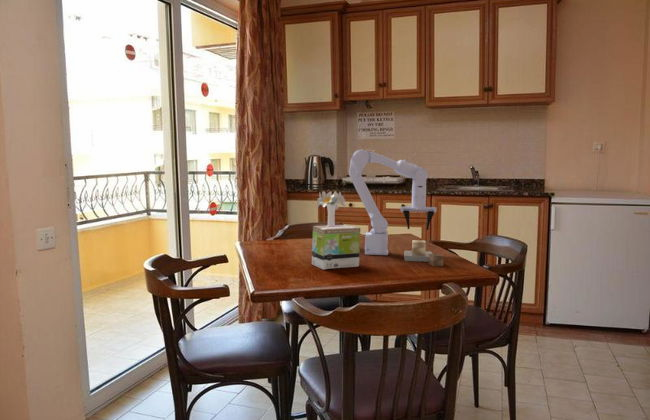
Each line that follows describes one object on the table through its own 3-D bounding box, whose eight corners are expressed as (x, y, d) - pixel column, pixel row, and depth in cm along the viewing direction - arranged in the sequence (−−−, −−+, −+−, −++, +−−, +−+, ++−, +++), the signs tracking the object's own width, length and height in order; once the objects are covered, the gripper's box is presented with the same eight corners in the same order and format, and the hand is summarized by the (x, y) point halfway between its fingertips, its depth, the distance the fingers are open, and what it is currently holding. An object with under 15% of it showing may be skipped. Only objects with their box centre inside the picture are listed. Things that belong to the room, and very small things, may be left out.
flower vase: (342, 242, 236) (343, 189, 233) (346, 250, 218) (347, 192, 215) (314, 242, 235) (315, 189, 233) (316, 250, 217) (316, 192, 214)
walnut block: (432, 266, 187) (433, 255, 186) (429, 264, 191) (429, 253, 190) (443, 266, 187) (443, 255, 187) (439, 264, 191) (439, 253, 191)
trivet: (404, 260, 196) (404, 255, 196) (404, 255, 207) (404, 250, 207) (433, 261, 195) (433, 256, 194) (431, 256, 206) (431, 251, 205)
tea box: (323, 270, 178) (324, 229, 177) (311, 265, 187) (311, 225, 185) (360, 266, 185) (361, 226, 184) (346, 261, 194) (347, 223, 192)
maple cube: (412, 254, 198) (412, 242, 198) (411, 252, 203) (412, 240, 203) (425, 255, 197) (425, 242, 197) (424, 252, 202) (424, 240, 202)
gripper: (401, 196, 205) (400, 230, 207) (437, 197, 203) (436, 231, 205) (400, 195, 212) (400, 227, 213) (436, 196, 210) (435, 228, 212)
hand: (417, 229), depth 210 cm, fingers open, 7 cm apart
